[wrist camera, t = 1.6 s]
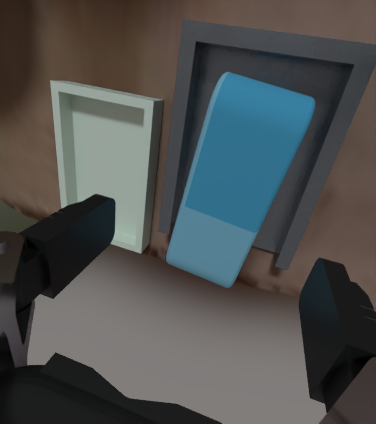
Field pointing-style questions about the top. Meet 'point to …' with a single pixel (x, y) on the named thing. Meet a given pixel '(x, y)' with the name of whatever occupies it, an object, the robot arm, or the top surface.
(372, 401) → the robot arm
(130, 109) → the tray
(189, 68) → the bay
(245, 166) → the blue flat block
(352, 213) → the top surface
